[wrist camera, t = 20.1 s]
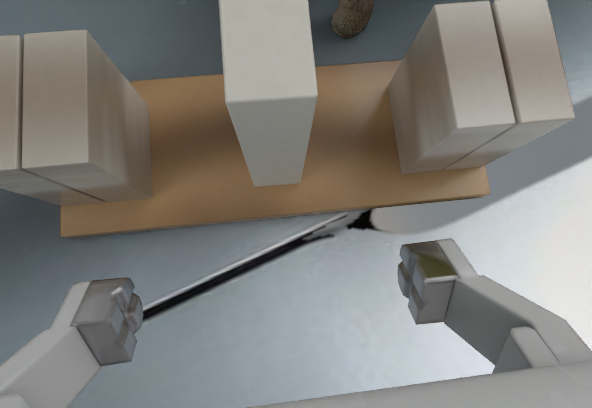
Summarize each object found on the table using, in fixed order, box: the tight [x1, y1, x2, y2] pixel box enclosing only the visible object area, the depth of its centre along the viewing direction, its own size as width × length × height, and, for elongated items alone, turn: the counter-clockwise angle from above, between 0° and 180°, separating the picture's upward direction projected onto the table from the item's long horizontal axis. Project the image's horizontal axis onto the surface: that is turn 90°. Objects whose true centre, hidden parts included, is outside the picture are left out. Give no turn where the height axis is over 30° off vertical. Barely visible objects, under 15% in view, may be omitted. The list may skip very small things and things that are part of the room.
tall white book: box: [219, 0, 318, 187], centre depth 15 cm, size 5×2×10 cm, turn 5°
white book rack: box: [0, 0, 575, 238], centre depth 17 cm, size 8×22×8 cm, turn 96°
